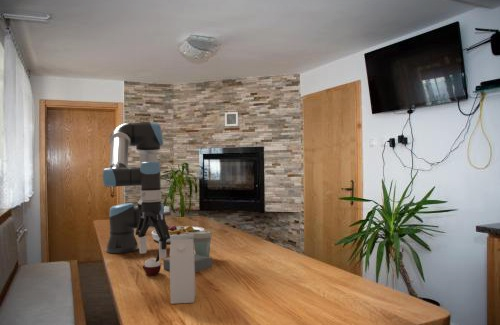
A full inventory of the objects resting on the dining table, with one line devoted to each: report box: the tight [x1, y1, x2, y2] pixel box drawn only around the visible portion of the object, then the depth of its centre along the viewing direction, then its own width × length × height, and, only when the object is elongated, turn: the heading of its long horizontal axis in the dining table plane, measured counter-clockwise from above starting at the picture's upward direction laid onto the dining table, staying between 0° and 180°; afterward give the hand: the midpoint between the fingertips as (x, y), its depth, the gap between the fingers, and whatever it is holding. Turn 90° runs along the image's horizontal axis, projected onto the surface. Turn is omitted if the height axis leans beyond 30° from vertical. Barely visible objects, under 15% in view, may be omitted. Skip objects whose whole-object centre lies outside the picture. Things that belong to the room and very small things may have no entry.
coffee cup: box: [193, 230, 212, 257], centre depth 174 cm, size 8×9×12 cm
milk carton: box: [169, 239, 196, 305], centre depth 122 cm, size 7×7×19 cm
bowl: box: [151, 223, 206, 244], centre depth 223 cm, size 30×30×8 cm
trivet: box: [162, 253, 213, 273], centre depth 159 cm, size 14×14×4 cm
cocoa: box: [142, 250, 162, 277], centre depth 151 cm, size 10×6×12 cm, turn 44°
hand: (152, 255), depth 151 cm, fingers open, 13 cm apart
